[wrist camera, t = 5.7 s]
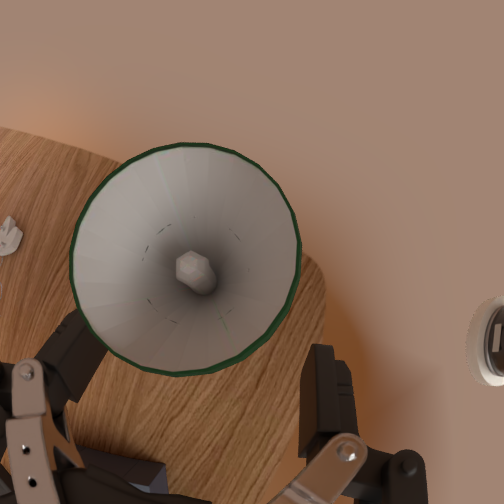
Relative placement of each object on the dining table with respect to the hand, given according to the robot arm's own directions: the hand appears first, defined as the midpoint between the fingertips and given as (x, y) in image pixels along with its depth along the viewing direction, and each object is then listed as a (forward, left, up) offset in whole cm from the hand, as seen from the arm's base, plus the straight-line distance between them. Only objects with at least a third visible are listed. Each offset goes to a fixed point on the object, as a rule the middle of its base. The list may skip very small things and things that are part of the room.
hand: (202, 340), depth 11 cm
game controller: (+28, -6, -14) cm, 32 cm away
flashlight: (0, -2, -14) cm, 14 cm away
